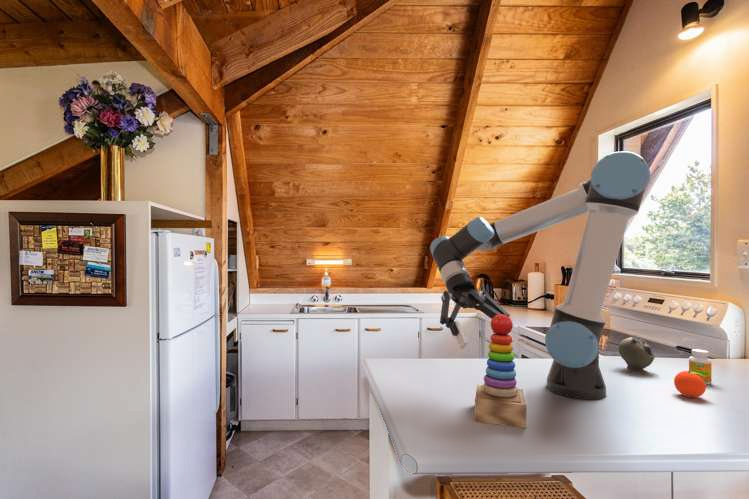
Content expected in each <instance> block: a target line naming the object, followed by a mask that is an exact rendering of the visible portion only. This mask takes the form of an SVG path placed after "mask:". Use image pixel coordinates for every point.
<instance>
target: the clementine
mask: <svg viewBox="0 0 749 499" xmlns="http://www.w3.org/2000/svg"><path fill="white" fill-rule="evenodd" d="M698 374H699V373H696V372H690V371H689V370H683V371H680V372H678V373H677V374H676V375H675V376H674V378H673V383H674V388H675V389H676V391H678V392H679V393H680V394H681V395H684V396H685V397H687V398H699V397H702V395H704V393H705V392H706V390H707V384H706V383H705V381H704V379H703V378H702V377H701V376H699V375H698ZM700 375H702V374H700ZM703 376H704V375H703ZM706 378H707V377H706ZM707 379H708V378H707ZM708 380H709V379H708Z"/></svg>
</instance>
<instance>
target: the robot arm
mask: <svg viewBox="0 0 749 499" xmlns="http://www.w3.org/2000/svg"><path fill="white" fill-rule="evenodd" d="M650 179H651V169H650V167H649V164H648V163H647V161H646V160H645V159H644V158H643V157H642V156H641V155H639V154H637V153H635V152H631V151H625V150H624V151H623V150H621V151H620V150H619V151H615V152H614V151H613V152H611V153H609V154H607V155H605V156H603V157H602V158H600V160H598V162H597V163H596V164H595V165H594V167H593V168H592V170H591V174H590V179H588V180H586V181H583V182H581V183H580V184H579V185H578V187H577V188H575V189H573V190H570V191H567V192H566V193H563V194H560V195H558V196H556V197H553V198H550V199H548V200H545V201H544V202H541V203H538V204H535V205H533V206H531V207H529V208H526V209H523V210H520V211H519V212H516V213H513V214H510V215H508V216H506V217H504V218H501V219H498V220H496V221H494V222H492V223H489V222H488V220H486V219H485V218H484V217H482V216H476V217H475V218H474V219H472V220H470V221H469V222H468V223H467V224H466V225H465V226H463V227H462V228H461V229H459V230H458V231H457V232H456V233H455V234H453V235H452V236H451V237H449V236H448V235H447V236H446V235H443V236H440V237H436V238H435V239H434V240H433V241H431V244H430V247H429V248H430V252H431V255H432V259H433V261H434V263H435V265H436V267H437V269H438V272H439V274H440V276H441V278H442V279H441V280H442V281H443V283H444V285H445V288H446V290H444V292H443V293H442V295H441V296H440V297H441V298H440V299H441V303H442V305H441V311H440V319H439V324H441V325H445V327H446V328H447V329H449V330H450V332H451V335H452V336H453V337H455V338H456V341H457V344H458V345H459V349H462V350H464V348H465V347H466V346H467V345H468V344H469V343H468V340H467V338H466V335H465V334H464V331H463V329H462V326H461V324H460V322H459V321H458V320H456V318H457V316H458V314H459V311H460V309H461V308H462V309H474V310H476V311H480V312H481V313H483V314H484V315H485V316H487V317H488V318H490V319H491V320H492V318H493V317H494V316H496V315H498V314H503V315H506V316H508V317H509V318H510V316H511V315H510V313H508V311H506V310H505V309H504V307H502V306H501V305H500V304H499V303H497V302H496V300H495V299H493V298H492V297H491V296H490V294H489V293H488V291H487V290H483V291H482V292H478V291H477V290H476V287H475V283H474V281H473V279H472V277H471V275H470V273H469V271H468V269H467V267H466V265H465V264H464V262H463V260H464V259H465V258H467V257H468V256H469V255H471V254H472V253H473V252H475V251H483V252H488V251H491V250H494V249H495V248H496V247H498V246H501V245H504V244H507V243H509V242H513V241H515V240H517V239H520V238H522V237H525V236H529V235H531V234H534V233H537V232H539V231H542V230H545V229H547V228H550V227H554V226H556V225H558V224H561V223H564V222H567V221H569V220H572V219H575V218H577V217H580V216H583V215H586V214H588V217H587V219H586V222H585V223H586V224H585V227H584V230H583V232H582V233H583V234H582V237H581V241H580V244H579V248H578V252H577V254H576V258H575V263H574V266H573V269H572V273H571V277H570V279H569V283H568V286H567V290H566V293H565V297H564V301H562V302H561V303H559V304H556V306H555V308H554V311H553V314H552V315H553V316H552V318H551V319H552V320H551V323H550V326H549V328H548V329H547V331H546V332H545V333H546V334H545V336H544V337H545V338H544V341H545V342H544V344H545V347H546V351H547V353H548V354H549V356H550V357H551V358H552V359H553V360H552V363H551V366H550V369H549V371H548V373H547V377H546V388H547V389H548V390H550V391H552V392H553V393H556V394H558V395H562V396H566V397H569V398H575V399H581V400H600V399H602V398H605V397H606V396H607V385H606V383H605V381H604V380H605V379H604V376H603V374H602V370H601V368H600V364H599V363H600V360H599V358H600V355H599V354H600V348H599V346H600V343H601V338H602V335H603V331H604V328H605V324H606V319H605V317H604V316H603V314H602V310H603V306H604V302H605V299H606V297H607V293H608V290H609V286H610V283H611V280H612V276H613V273H614V269H615V265H616V263H617V262H616V261H617V259H618V256H619V252H620V249H621V246H622V243H623V239H624V235H625V231H626V229H627V225H628V222H629V219H630V218H632V217H634V216H636V215H638V214H639V211H640V208H641V204H642V200H643V198H644V194H645V192H646V188H647V186H648V185H649V182H650ZM450 301H453V302H454V303H455V305H454V308H453V310H452V312H451V314H450V317H449V311H450ZM508 335H510V336H511V337H512V342H511V343H510V344H511V345H512V343H513V342H514V340H515V339H514V337H513V335H512V333H511V332H510V333H508Z"/></svg>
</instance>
